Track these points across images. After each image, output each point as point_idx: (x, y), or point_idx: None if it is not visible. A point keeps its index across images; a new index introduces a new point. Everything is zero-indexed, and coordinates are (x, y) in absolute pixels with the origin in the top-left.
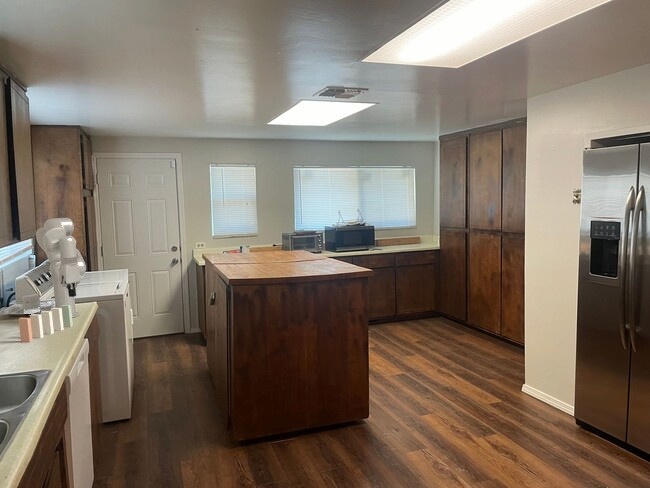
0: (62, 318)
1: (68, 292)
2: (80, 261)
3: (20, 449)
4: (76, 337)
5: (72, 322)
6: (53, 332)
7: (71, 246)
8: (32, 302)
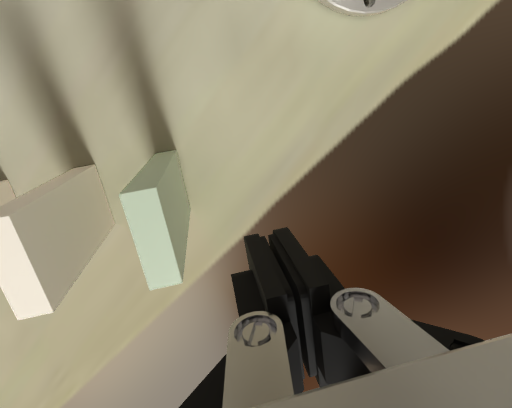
0: (90, 258)
1: (253, 263)
2: None
3: None
4: (56, 405)
5: (189, 218)
6: None
7: None
8: None
